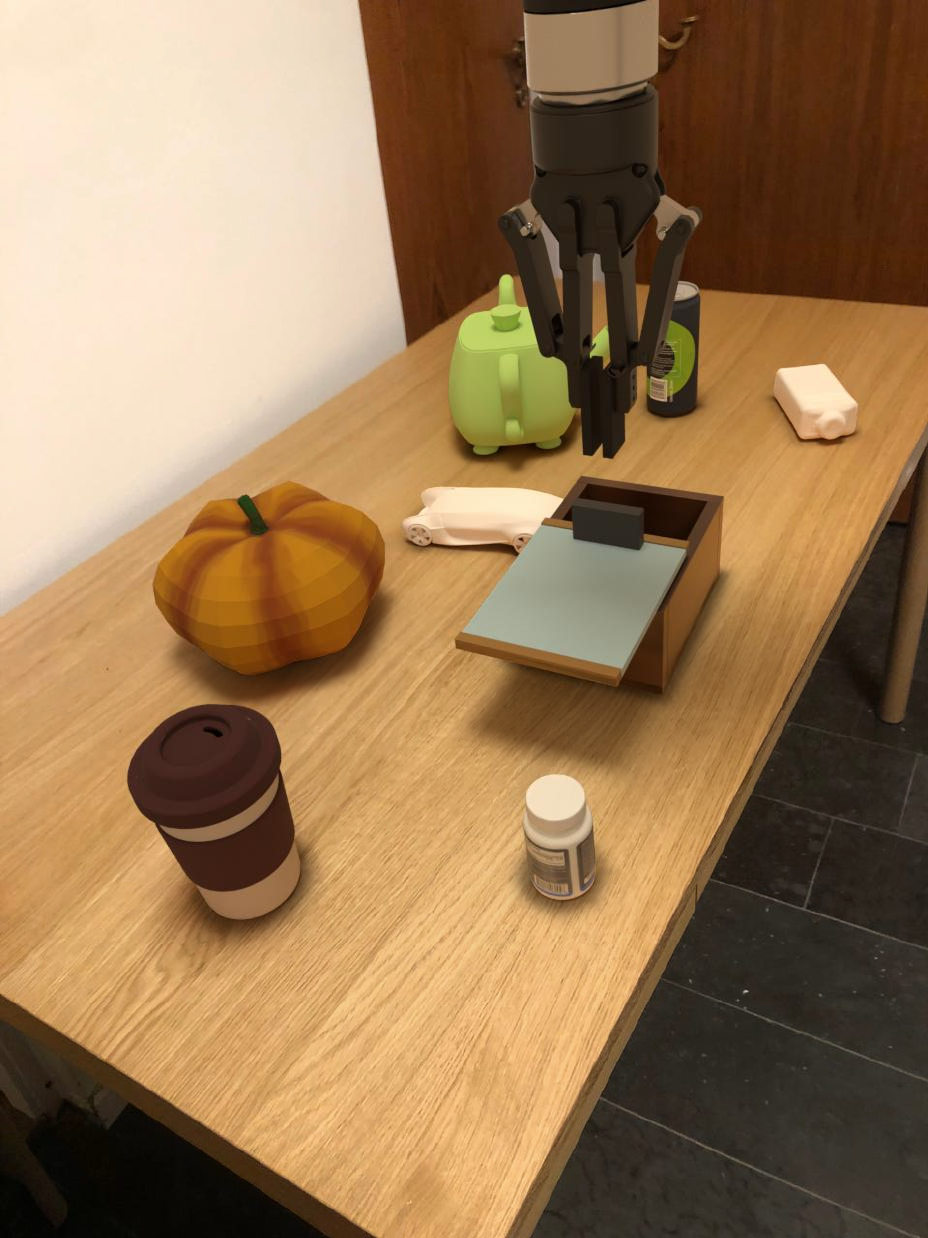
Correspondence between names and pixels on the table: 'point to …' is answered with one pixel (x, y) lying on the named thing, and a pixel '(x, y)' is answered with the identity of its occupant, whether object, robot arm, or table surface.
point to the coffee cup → (221, 805)
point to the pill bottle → (559, 837)
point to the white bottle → (815, 402)
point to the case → (694, 580)
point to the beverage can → (677, 358)
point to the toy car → (479, 516)
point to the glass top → (578, 594)
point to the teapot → (509, 379)
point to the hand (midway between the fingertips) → (604, 447)
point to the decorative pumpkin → (271, 578)
